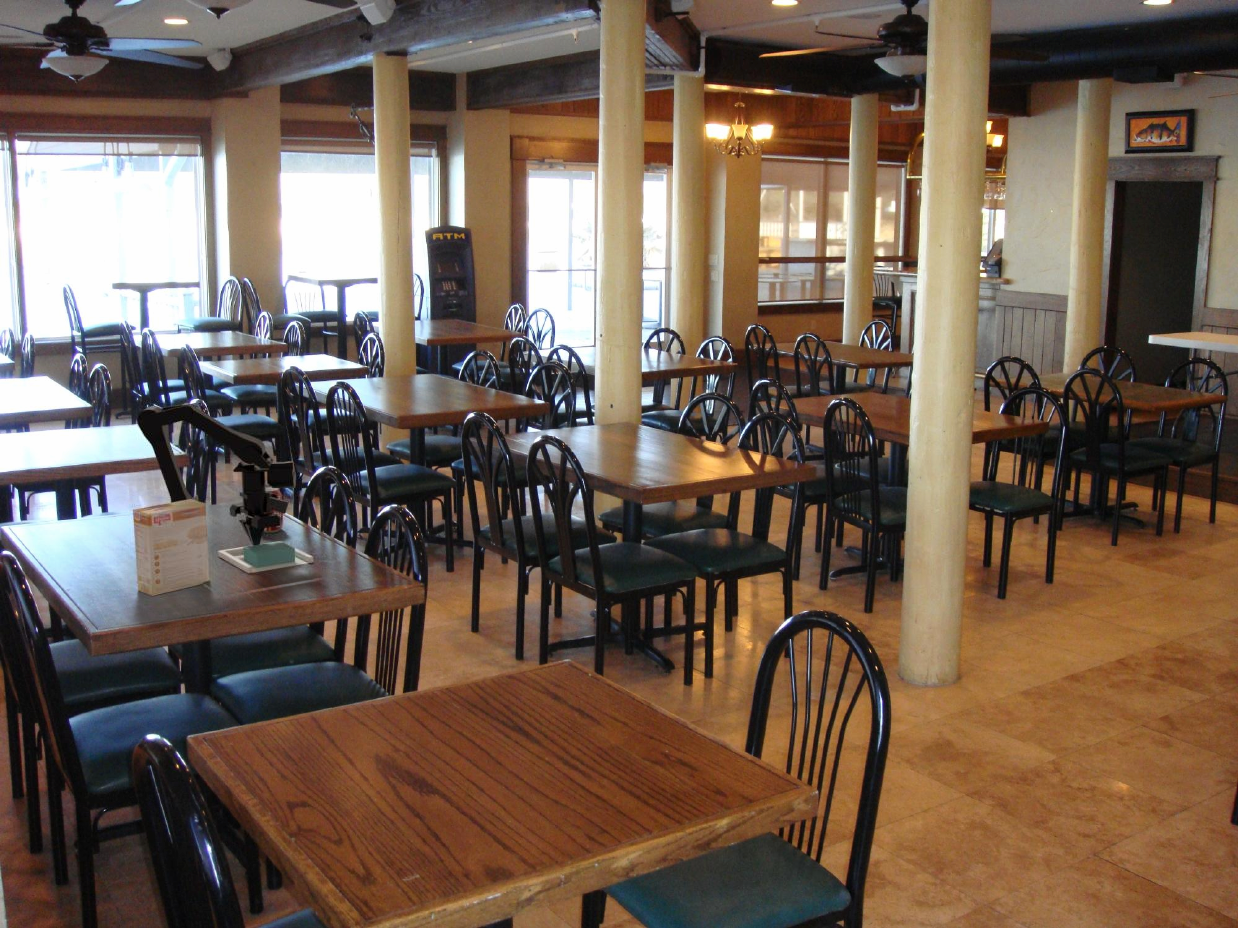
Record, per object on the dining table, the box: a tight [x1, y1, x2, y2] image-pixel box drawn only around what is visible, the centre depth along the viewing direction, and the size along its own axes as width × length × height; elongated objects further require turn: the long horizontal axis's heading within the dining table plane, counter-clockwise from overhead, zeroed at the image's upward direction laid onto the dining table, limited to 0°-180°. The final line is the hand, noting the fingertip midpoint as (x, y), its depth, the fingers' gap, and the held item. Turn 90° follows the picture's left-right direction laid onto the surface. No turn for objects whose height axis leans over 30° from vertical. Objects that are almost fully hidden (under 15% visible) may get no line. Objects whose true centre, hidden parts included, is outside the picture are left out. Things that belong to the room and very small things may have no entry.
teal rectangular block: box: [242, 540, 296, 568], centre depth 305 cm, size 10×8×4 cm
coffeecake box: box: [132, 499, 211, 597], centre depth 283 cm, size 15×7×20 cm, turn 141°
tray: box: [217, 540, 314, 574], centre depth 307 cm, size 17×19×2 cm
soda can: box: [263, 486, 284, 534], centre depth 337 cm, size 7×7×12 cm
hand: (256, 547), depth 311 cm, fingers closed
